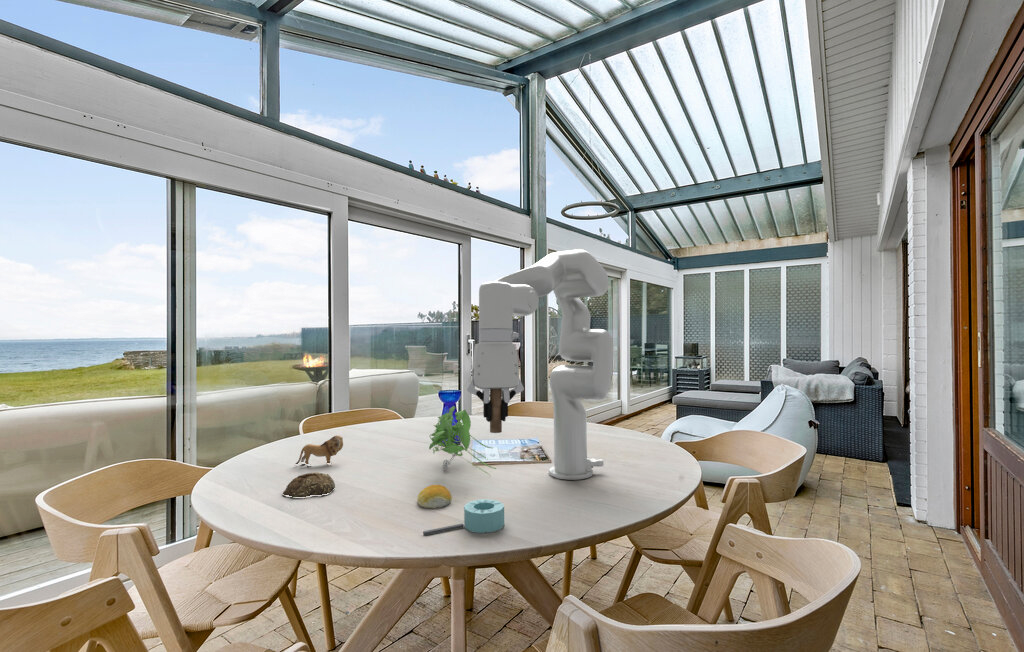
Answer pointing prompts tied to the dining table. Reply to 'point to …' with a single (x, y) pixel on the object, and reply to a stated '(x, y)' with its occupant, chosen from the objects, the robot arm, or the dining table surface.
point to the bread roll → (434, 496)
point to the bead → (484, 515)
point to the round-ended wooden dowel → (496, 410)
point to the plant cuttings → (453, 435)
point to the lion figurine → (322, 449)
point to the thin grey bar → (443, 529)
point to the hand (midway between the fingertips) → (495, 419)
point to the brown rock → (310, 485)
